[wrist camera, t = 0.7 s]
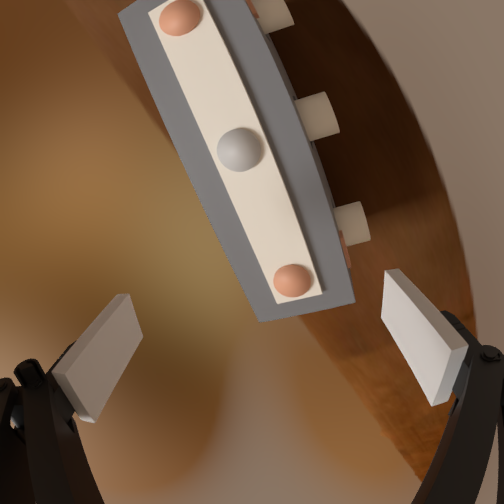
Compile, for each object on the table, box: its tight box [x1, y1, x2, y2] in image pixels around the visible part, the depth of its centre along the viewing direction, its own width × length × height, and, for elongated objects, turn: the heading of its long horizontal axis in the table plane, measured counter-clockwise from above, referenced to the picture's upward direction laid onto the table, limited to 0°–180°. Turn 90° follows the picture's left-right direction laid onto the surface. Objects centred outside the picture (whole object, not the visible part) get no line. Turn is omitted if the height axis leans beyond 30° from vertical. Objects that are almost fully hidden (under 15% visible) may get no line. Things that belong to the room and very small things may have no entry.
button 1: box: [333, 201, 371, 246], centre depth 29 cm, size 4×6×4 cm
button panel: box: [118, 0, 355, 322], centre depth 26 cm, size 30×9×17 cm, turn 22°
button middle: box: [294, 91, 340, 141], centre depth 24 cm, size 4×6×4 cm
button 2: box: [251, 0, 294, 34], centre depth 20 cm, size 4×6×4 cm
